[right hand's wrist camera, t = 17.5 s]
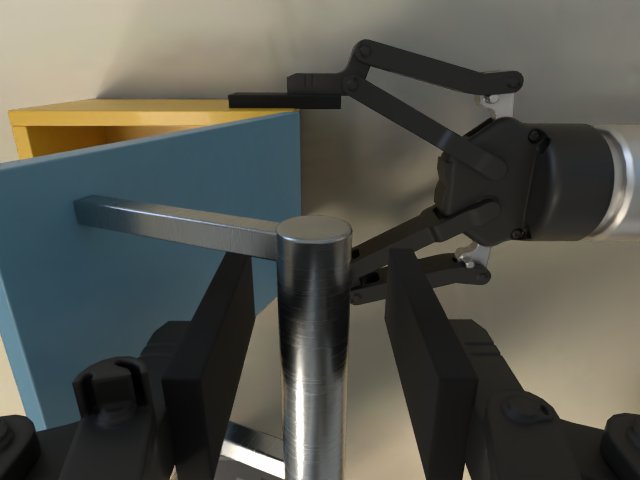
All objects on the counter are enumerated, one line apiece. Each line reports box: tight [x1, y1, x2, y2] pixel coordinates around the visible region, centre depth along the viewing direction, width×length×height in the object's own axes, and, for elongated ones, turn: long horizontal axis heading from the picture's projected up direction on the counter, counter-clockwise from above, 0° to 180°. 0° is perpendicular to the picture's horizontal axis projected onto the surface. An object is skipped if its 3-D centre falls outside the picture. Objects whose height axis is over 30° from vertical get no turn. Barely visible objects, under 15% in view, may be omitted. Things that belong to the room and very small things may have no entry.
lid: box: [0, 112, 352, 480], centre depth 17 cm, size 16×10×8 cm
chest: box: [8, 99, 301, 180], centre depth 30 cm, size 16×10×10 cm, turn 90°
